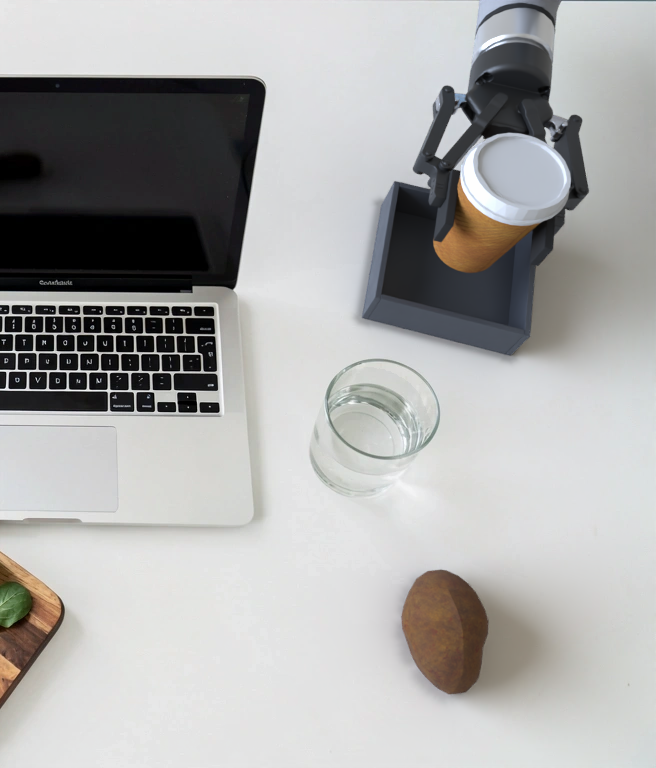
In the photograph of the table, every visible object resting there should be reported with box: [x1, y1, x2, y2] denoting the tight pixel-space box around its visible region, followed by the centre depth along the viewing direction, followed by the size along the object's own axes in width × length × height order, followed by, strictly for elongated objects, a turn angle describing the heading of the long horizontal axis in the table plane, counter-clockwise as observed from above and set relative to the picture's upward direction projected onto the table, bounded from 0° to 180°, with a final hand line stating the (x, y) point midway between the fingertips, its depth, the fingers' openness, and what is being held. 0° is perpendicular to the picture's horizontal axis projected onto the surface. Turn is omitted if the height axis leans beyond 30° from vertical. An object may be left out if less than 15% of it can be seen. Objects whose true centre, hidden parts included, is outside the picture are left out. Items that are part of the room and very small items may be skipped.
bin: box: [361, 180, 537, 357], centre depth 94 cm, size 15×15×5 cm
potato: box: [400, 569, 489, 695], centre depth 77 cm, size 7×10×7 cm
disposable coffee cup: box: [433, 133, 571, 273], centre depth 86 cm, size 10×10×12 cm
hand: (492, 244), depth 83 cm, fingers closed on disposable coffee cup, 8 cm apart
